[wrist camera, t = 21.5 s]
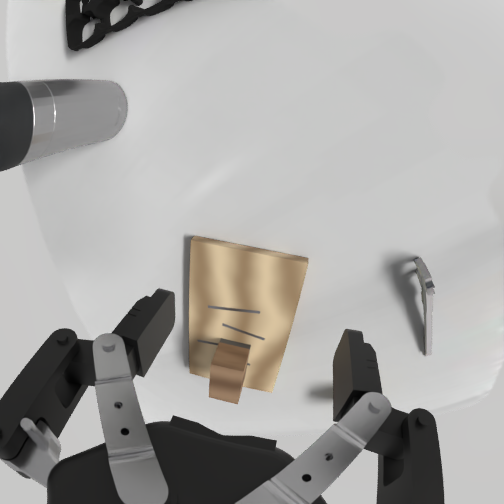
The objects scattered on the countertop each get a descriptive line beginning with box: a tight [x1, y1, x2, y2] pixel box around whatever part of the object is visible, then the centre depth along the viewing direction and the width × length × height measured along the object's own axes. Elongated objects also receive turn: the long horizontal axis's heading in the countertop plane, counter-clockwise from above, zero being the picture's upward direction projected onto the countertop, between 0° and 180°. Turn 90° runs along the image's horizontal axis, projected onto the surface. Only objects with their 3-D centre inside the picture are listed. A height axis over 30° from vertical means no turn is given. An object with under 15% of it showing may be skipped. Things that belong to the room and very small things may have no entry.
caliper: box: [414, 258, 435, 356], centre depth 38 cm, size 20×1×6 cm, turn 24°
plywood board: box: [189, 236, 308, 393], centre depth 47 cm, size 16×28×2 cm, turn 172°
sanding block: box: [209, 338, 251, 404], centre depth 46 cm, size 9×5×6 cm, turn 172°
